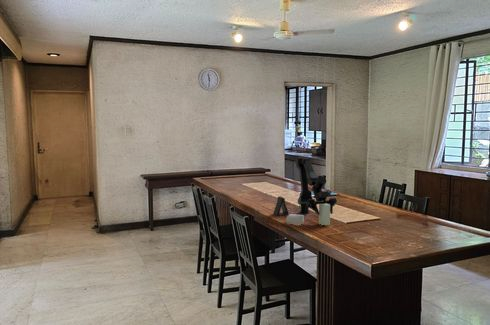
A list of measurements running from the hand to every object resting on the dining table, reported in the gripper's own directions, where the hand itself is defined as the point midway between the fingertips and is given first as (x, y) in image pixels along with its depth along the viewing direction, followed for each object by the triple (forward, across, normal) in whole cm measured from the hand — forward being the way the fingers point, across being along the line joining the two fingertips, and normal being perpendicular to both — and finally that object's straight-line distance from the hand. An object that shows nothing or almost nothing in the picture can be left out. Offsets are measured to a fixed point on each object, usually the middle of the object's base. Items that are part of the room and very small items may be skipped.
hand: (325, 214), depth 239 cm
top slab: (-3, -16, +9) cm, 19 cm away
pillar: (+4, 0, +6) cm, 7 cm away
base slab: (-1, -16, +11) cm, 20 cm away
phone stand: (-18, -17, +28) cm, 37 cm away
